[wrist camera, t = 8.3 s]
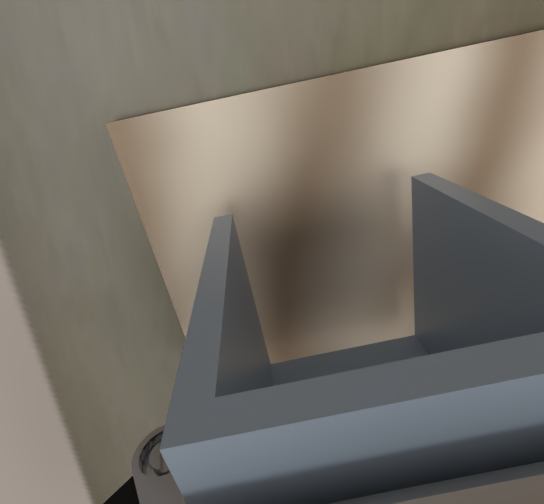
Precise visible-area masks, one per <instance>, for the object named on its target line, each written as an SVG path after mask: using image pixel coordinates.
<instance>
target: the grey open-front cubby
mask: <svg viewBox="0 0 544 504" xmlns="http://www.w3.org/2000/svg"><path fill="white" fill-rule="evenodd" d="M411 183H412V230H413V276H414V323H415V335H412V336H407V337H402V338H397V339H392V340H387V341H383V342H378V343H373V344H368V345H363V346H358V347H353V348H348V349H343V350H338V351H333V352H328V353H323V354H318V355H313V356H308V357H303V358H298V359H293V360H288V361H283V362H278V363H273V364H270V360H269V356H268V352H267V348H266V344H265V340H264V336H263V332H262V328H261V324H260V320H259V316H258V312H257V309H256V305H255V301H254V297H253V293H252V289H251V285H250V281H249V277H248V273H247V269H246V265H245V261H244V258H243V254H242V250H241V246H240V242H239V238H238V234H237V230H236V226H235V222H234V218H233V214H228V215H223V216H219V217H214V219H213V224H212V228H211V232H210V237H209V241H208V245H207V249H206V254H205V258H204V262H203V266H202V271H201V275H200V279H199V283H198V288H197V292H196V296H195V300H194V305H193V309H192V313H191V317H190V322H189V326H188V330H187V334H186V339H185V343H184V347H183V351H182V356H181V360H180V364H179V368H178V373H177V377H176V381H175V385H174V390H173V394H172V398H171V402H170V407H169V411H168V415H167V419H166V424H165V428H164V432H163V436H162V441H161V445H160V449H159V450H160V452H161V454H162V456H163V458H164V460H165V462H166V464H167V466H168V468H169V470H170V472H171V474H172V476H173V478H174V480H175V482H176V484H177V486H178V488H179V490H180V492H181V494H182V496H183V498H184V500H185V502H186V504H329V503H333V502H338V501H343V500H348V499H353V498H358V497H363V496H368V495H373V494H378V493H383V492H388V491H393V490H398V489H403V488H409V487H414V486H419V485H424V484H429V483H434V482H439V481H444V480H450V479H455V478H460V477H465V476H470V475H475V474H480V473H486V472H491V471H496V470H501V469H506V468H511V467H517V466H522V465H527V464H532V463H537V462H543V461H544V223H542V222H540V221H538V220H535V219H533V218H531V217H529V216H527V215H524V214H522V213H520V212H518V211H515V210H513V209H511V208H509V207H506V206H504V205H502V204H500V203H497V202H495V201H493V200H491V199H488V198H486V197H484V196H482V195H479V194H477V193H475V192H473V191H470V190H468V189H466V188H464V187H462V186H459V185H457V184H455V183H453V182H450V181H448V180H446V179H444V178H441V177H439V176H437V175H435V174H432V173H425V174H420V175H415V176H411Z"/></svg>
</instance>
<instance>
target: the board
mask: <svg viewBox="0 0 544 504" xmlns="http://www.w3.org/2000/svg"><path fill="white" fill-rule="evenodd" d="M105 124H106V127H107V130H108V132H109V135H110V138H111V140H112V143H113V146H114V148H115V151H116V154H117V156H118V159H119V162H120V164H121V167H122V170H123V172H124V175H125V178H126V180H127V183H128V186H129V188H130V191H131V194H132V197H133V199H134V202H135V205H136V207H137V210H138V213H139V215H140V218H141V221H142V223H143V226H144V229H145V231H146V234H147V237H148V239H149V242H150V245H151V247H152V250H153V253H154V255H155V258H156V261H157V264H158V266H159V269H160V272H161V274H162V277H163V280H164V282H165V285H166V288H167V290H168V293H169V296H170V298H171V301H172V304H173V306H174V309H175V312H176V314H177V317H178V320H179V322H180V325H181V328H182V330H183V333H184V336H185V339H186V334H187V330H188V326H189V322H190V317H191V313H192V309H193V305H194V300H195V296H196V292H197V288H198V283H199V279H200V275H201V271H202V266H203V262H204V258H205V254H206V249H207V245H208V241H209V237H210V232H211V228H212V224H213V219H214V217H219V216H223V215H228V214H233V218H234V222H235V226H236V230H237V234H238V238H239V242H240V246H241V250H242V254H243V258H244V261H245V265H246V269H247V273H248V277H249V281H250V285H251V289H252V293H253V297H254V301H255V305H256V309H257V312H258V316H259V320H260V324H261V328H262V332H263V336H264V340H265V344H266V348H267V352H268V356H269V360H270V364H273V363H278V362H283V361H288V360H293V359H298V358H303V357H308V356H313V355H318V354H323V353H328V352H333V351H338V350H343V349H348V348H353V347H358V346H363V345H368V344H373V343H378V342H383V341H387V340H392V339H397V338H402V337H407V336H412V335H415V323H414V276H413V230H412V183H411V176H415V175H420V174H425V173H432V174H435V175H437V176H439V177H441V178H444V179H446V180H448V181H450V182H453V183H455V184H457V185H459V186H462V187H464V188H466V189H468V190H470V191H473V192H475V193H477V194H479V195H482V196H484V197H486V198H488V199H491V200H493V201H495V202H497V203H500V204H502V205H504V206H506V207H509V208H511V209H513V210H515V211H518V212H520V213H522V214H524V215H527V216H529V217H531V218H533V219H535V220H538V221H540V222H542V223H544V30H540V31H535V32H530V33H526V34H521V35H516V36H512V37H507V38H502V39H498V40H493V41H488V42H484V43H479V44H474V45H469V46H465V47H460V48H455V49H451V50H446V51H441V52H437V53H432V54H427V55H423V56H418V57H413V58H409V59H404V60H399V61H395V62H390V63H385V64H381V65H376V66H371V67H367V68H362V69H357V70H352V71H348V72H343V73H338V74H334V75H329V76H324V77H320V78H315V79H310V80H306V81H301V82H296V83H292V84H287V85H282V86H278V87H273V88H268V89H264V90H259V91H254V92H249V93H245V94H240V95H235V96H231V97H226V98H221V99H217V100H212V101H207V102H203V103H198V104H193V105H189V106H184V107H179V108H175V109H170V110H165V111H161V112H156V113H151V114H147V115H142V116H137V117H132V118H128V119H123V120H118V121H114V122H109V123H105Z"/></svg>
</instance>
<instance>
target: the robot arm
mask: <svg viewBox="0 0 544 504" xmlns="http://www.w3.org/2000/svg"><path fill="white" fill-rule="evenodd" d="M164 428H165V425H164V426H162V427H159V428H157V429H156V430H154V431H153V432H151V433H150V434H149V435H147V436H146V438H145V439H144V440H143V441H142V442H141V443H140V444H139V446H138V448H137V449H136V451H135V453H134V456H133V459H132V474H133V476H132V477H131V478H130V479H129V480H128V481H127V482H126V483H125V484H124V485H123V486H122V487H120V488H119V489H118V490H117V491H116V492H115V493H114V494H113V495H112V496H111V497H110V498H109V499H108V500H107V501H106V502H105V503H104V504H186V502H185V500H184V498H183V496H182V494H181V492H180V490H179V488H178V486H177V484H176V482H175V480H174V478H173V476H172V474H171V472H170V470H169V468H168V466H167V464H166V462H165V460H164V458H163V456H162V454H161V452H160V450H159V449H160V445H161V441H162V436H163V432H164ZM329 504H544V461H543V462H537V463H532V464H527V465H522V466H517V467H511V468H506V469H501V470H496V471H491V472H486V473H480V474H475V475H470V476H465V477H460V478H455V479H450V480H444V481H439V482H434V483H429V484H424V485H419V486H414V487H409V488H403V489H398V490H393V491H388V492H383V493H378V494H373V495H368V496H363V497H358V498H353V499H348V500H343V501H338V502H333V503H329Z"/></svg>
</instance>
